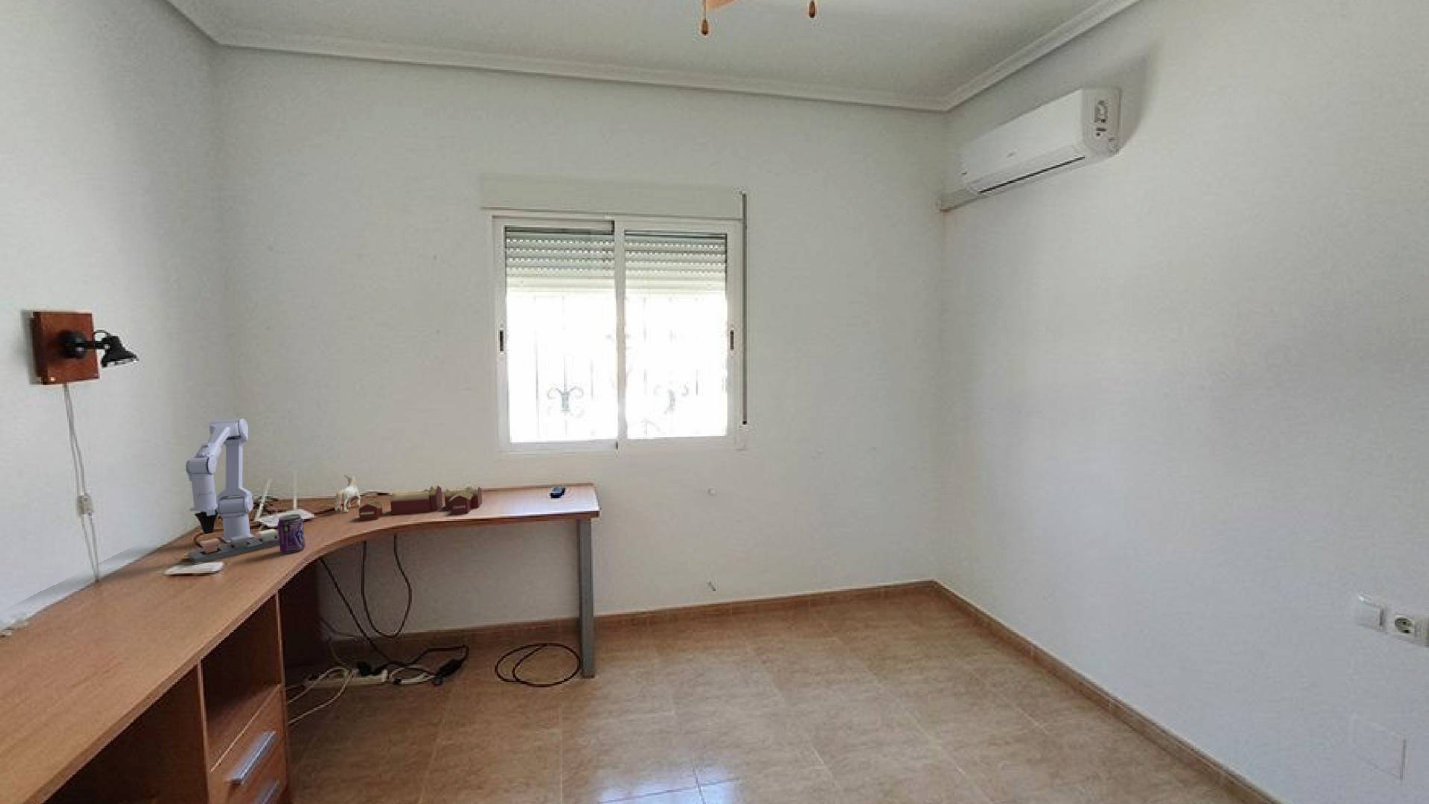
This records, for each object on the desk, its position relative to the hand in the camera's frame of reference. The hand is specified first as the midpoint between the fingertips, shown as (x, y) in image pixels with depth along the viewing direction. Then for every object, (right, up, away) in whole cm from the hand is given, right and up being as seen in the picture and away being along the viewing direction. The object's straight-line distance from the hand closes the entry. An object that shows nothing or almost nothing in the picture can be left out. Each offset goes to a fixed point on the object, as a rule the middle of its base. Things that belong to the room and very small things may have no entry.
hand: (208, 533), depth 201 cm
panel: (+5, -8, +7) cm, 12 cm away
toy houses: (+47, -3, +51) cm, 69 cm away
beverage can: (+25, -7, +5) cm, 26 cm away
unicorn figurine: (+9, -3, +58) cm, 59 cm away
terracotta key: (0, -6, +1) cm, 6 cm away
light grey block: (+5, -6, +7) cm, 11 cm away
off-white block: (+10, -6, +13) cm, 17 cm away
